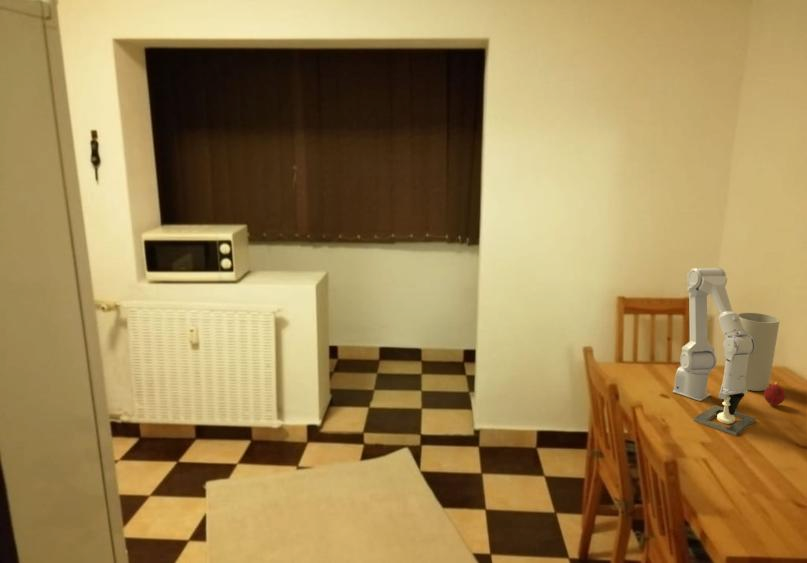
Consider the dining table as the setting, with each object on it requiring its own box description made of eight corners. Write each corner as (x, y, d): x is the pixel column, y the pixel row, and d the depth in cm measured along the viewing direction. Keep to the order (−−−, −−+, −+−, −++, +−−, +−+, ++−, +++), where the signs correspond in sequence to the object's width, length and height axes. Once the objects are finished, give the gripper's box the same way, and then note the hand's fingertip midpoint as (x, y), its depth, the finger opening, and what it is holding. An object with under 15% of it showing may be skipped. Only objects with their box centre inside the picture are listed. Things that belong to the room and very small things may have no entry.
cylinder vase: (763, 380, 203) (773, 314, 198) (772, 394, 192) (784, 324, 186) (724, 375, 207) (733, 311, 202) (731, 389, 196) (741, 320, 190)
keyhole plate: (714, 407, 181) (715, 404, 181) (755, 421, 172) (756, 418, 172) (694, 420, 173) (694, 417, 172) (735, 435, 163) (736, 432, 163)
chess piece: (713, 415, 175) (713, 389, 171) (728, 412, 175) (729, 385, 171) (723, 425, 170) (724, 397, 167) (738, 421, 170) (740, 394, 167)
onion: (786, 410, 180) (790, 387, 178) (766, 408, 181) (770, 385, 179) (778, 402, 185) (782, 380, 184) (759, 400, 187) (763, 378, 185)
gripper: (739, 383, 163) (732, 426, 166) (758, 371, 172) (752, 412, 175) (713, 376, 168) (708, 417, 171) (734, 364, 177) (728, 404, 180)
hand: (728, 414), depth 173 cm, fingers closed, pressing on chess piece
